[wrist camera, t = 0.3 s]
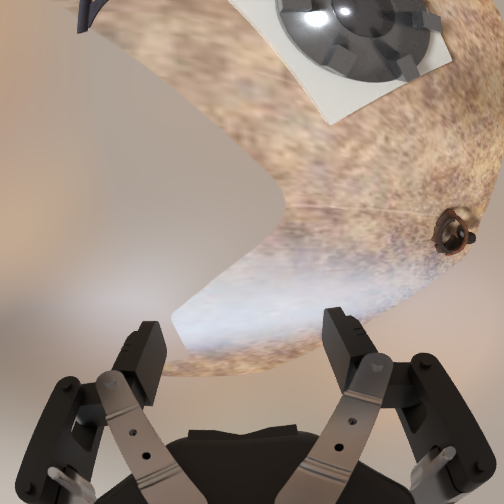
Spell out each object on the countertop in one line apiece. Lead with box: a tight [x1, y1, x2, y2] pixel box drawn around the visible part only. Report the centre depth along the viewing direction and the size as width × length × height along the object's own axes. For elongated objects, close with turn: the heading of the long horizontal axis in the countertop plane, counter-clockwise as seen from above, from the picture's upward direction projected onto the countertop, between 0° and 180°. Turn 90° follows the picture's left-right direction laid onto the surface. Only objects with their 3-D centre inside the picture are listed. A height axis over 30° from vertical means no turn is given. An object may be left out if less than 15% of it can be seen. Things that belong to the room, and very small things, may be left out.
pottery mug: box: [431, 209, 476, 256], centre depth 44 cm, size 12×10×8 cm
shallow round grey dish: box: [275, 0, 442, 83], centre depth 19 cm, size 20×20×5 cm
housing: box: [228, 0, 452, 125], centre depth 21 cm, size 24×24×7 cm
